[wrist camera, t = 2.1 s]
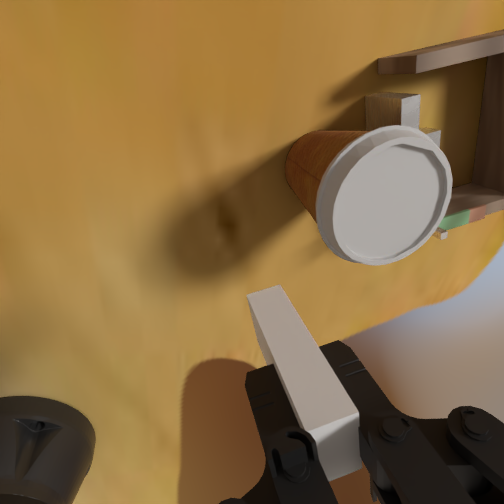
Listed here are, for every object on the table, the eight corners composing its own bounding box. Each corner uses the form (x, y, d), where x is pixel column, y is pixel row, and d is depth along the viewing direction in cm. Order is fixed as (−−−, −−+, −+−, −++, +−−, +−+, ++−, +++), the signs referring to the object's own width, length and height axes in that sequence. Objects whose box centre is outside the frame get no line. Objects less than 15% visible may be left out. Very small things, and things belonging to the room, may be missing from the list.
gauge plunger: (368, 208, 36) (427, 244, 28) (365, 95, 31) (437, 101, 23) (418, 193, 37) (489, 224, 29) (423, 81, 31) (512, 82, 24)
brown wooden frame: (379, 221, 37) (411, 241, 32) (378, 58, 30) (419, 55, 25) (479, 190, 39) (523, 206, 34) (502, 29, 31) (562, 21, 27)
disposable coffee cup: (379, 159, 34) (480, 195, 24) (312, 231, 36) (379, 294, 25) (320, 85, 29) (413, 90, 19) (246, 171, 31) (294, 218, 21)
